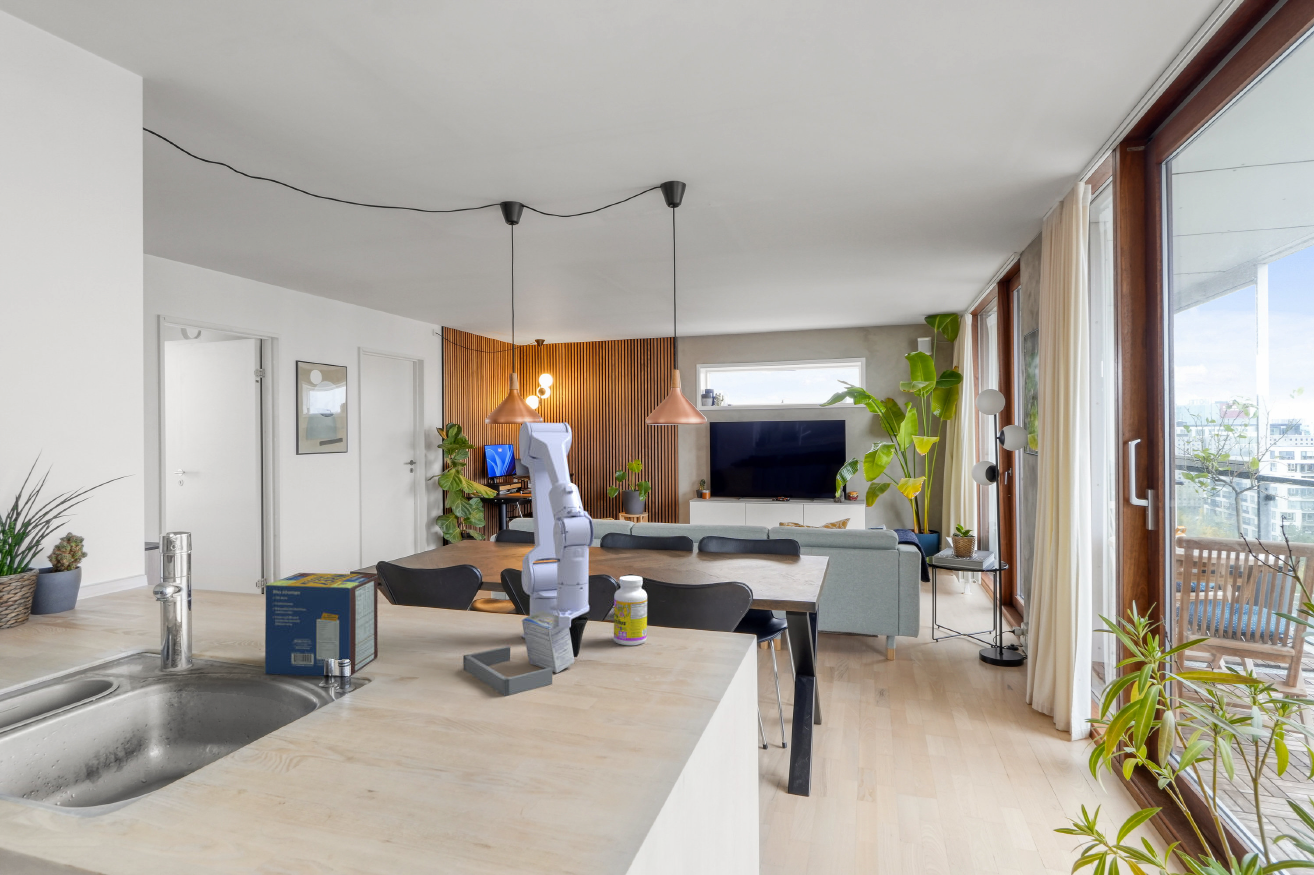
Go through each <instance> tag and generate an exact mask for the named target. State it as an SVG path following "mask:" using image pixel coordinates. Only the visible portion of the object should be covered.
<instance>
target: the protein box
mask: <svg viewBox="0 0 1314 875" xmlns="http://www.w3.org/2000/svg"><path fill="white" fill-rule="evenodd" d="M378 577H379V576H378V574H373V573H372V574H371V573H364V574H361V573H327V572H326V573H322V572H321V573H318V572H317V573H315V572H314V573H313V572H298V573H295V574H293V575H289V576H287V577H284V578H281V579H278V580H275V581H273V582H269V583H267V584H265V630H264V631H265V634H264V635H265V638H264V639H265V641H264V644H265V645H264V646H265V649H264V674H265V675H281V676H282V675H285V676H287V675H288V676H289V675H290V676H314V677H325V676H324V661H325V659H328V658H331V659H335V660H342V659H349V660H350V661H351V676H353V675H355V673H357V672H359V671H360V670H361V669H363V668H365V667H366V666H367V665H368V664H370V663H372V662H373V661H375V659H378V655H379V654H378V651H379V650H378V649H379V648H378V647H379V646H378V632H379V630H378V622H379V621H378V616H379V615H378V610H379V609H378V602H379V601H378V592H379V591H378V590H379V588H378V587H379V586H378V585H379V584H378Z"/></svg>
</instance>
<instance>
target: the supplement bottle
mask: <svg viewBox="0 0 1314 875" xmlns="http://www.w3.org/2000/svg"><path fill="white" fill-rule="evenodd" d="M618 579H619V580H618V583H619V587H620V588H619V589H617V590H616V591H615V593H614V597H613V599H614V600H613V601H614V603H613V606H614V607H613V641H614V642H615V643H617V644H619V645H621V646H631V647H632V646H638V645H642V644H644V643H645V642H646V641H647V638H648V637H647V634H648V632H647V631H648V626H647V625H648V594H647V592H646V590H645V589H643V588H642V586H643V584H644V583H643V582H644V581H643V577H642V576H639V575H623V576H620V577H619V578H618Z"/></svg>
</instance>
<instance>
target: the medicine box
mask: <svg viewBox="0 0 1314 875" xmlns="http://www.w3.org/2000/svg"><path fill="white" fill-rule="evenodd" d="M521 623H522V629H523V634H524V636H525V638H524V641H525V647H526V654H527V658H528V664H531V665H534V666H537V667H539V668H543V669H547V668H551V669H552V673H553V672H554V673H555V674H557V673H560V672H561V671H563V670H565V669H566V668H569V666H571V665H573V664H574V663H575V657H574V655H573V649H572V643H571V637H570V631H569V627H559V616H557V615H554V614H550V613H546V612H542V611H538V612H536V613H534V614H532V615H530V614H529V615H528V616H526V617H524V618H523V619H522V620H521Z"/></svg>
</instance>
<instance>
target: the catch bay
mask: <svg viewBox="0 0 1314 875" xmlns="http://www.w3.org/2000/svg"><path fill="white" fill-rule="evenodd" d="M462 659H463V661H462V664H463V666H462V667H463V668H462V670H463V671H464V672H465V673H466V672H467V674H469V675H471V676H472V677H474V678H475V679H477V680H479V681H480V682H482V683H483V684H485V685H487V686H488V687H489V688H491V689H493V690H494V691H496V692H498V693H499V694H501V695H502V696H504V697H507V696H510V695H515V694H518V693H523V692H526V691H531V690H534V689H539V688H542V687H546V686H550V685H553V671H552V669H551V668H547V669H545V668H543V669H539V670H534V671H531V672H526V673H523V674H522V673H521V674H518V675H514V676H509V677H506V676H504V675H503V674H501V673H500V672H498V671H497V670H495V669H494V668H491V667H490V666H494V665H498V664H502V663H506V662H511V647H510V646H509V645H507V646H502V647H498V648H493V649H487V650H484V651H478V652H474V653H469V654H464V655H463V658H462Z"/></svg>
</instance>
